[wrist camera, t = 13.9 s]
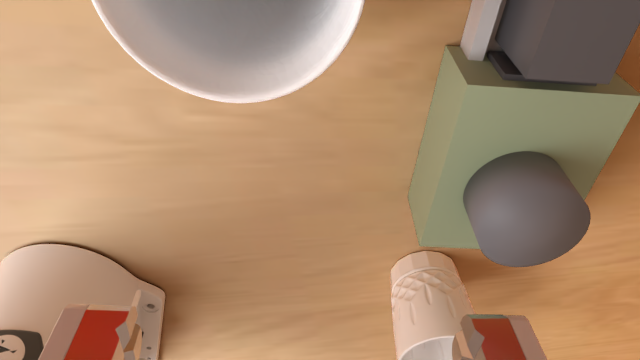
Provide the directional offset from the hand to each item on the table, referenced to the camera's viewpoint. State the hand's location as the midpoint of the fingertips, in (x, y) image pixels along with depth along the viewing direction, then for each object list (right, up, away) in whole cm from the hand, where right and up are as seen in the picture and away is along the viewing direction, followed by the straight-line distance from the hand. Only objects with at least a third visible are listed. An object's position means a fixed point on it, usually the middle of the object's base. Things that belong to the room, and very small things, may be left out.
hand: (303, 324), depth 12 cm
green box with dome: (+15, +12, +22) cm, 29 cm away
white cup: (+11, -6, +36) cm, 38 cm away
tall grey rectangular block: (+15, +16, +18) cm, 28 cm away
